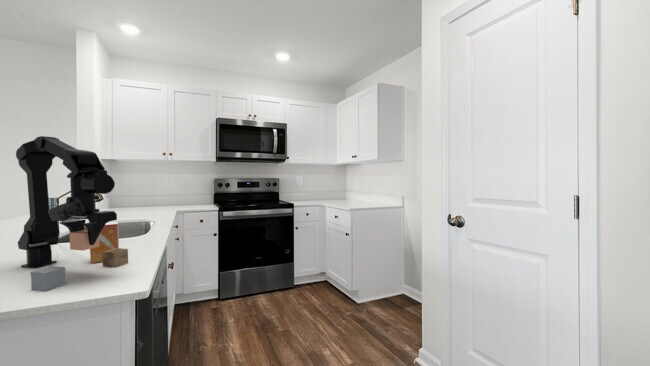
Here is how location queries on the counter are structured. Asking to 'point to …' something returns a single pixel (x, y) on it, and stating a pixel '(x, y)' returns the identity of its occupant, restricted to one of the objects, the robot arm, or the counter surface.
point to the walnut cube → (115, 257)
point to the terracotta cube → (81, 241)
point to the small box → (105, 241)
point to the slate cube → (48, 278)
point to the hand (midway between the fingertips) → (85, 244)
